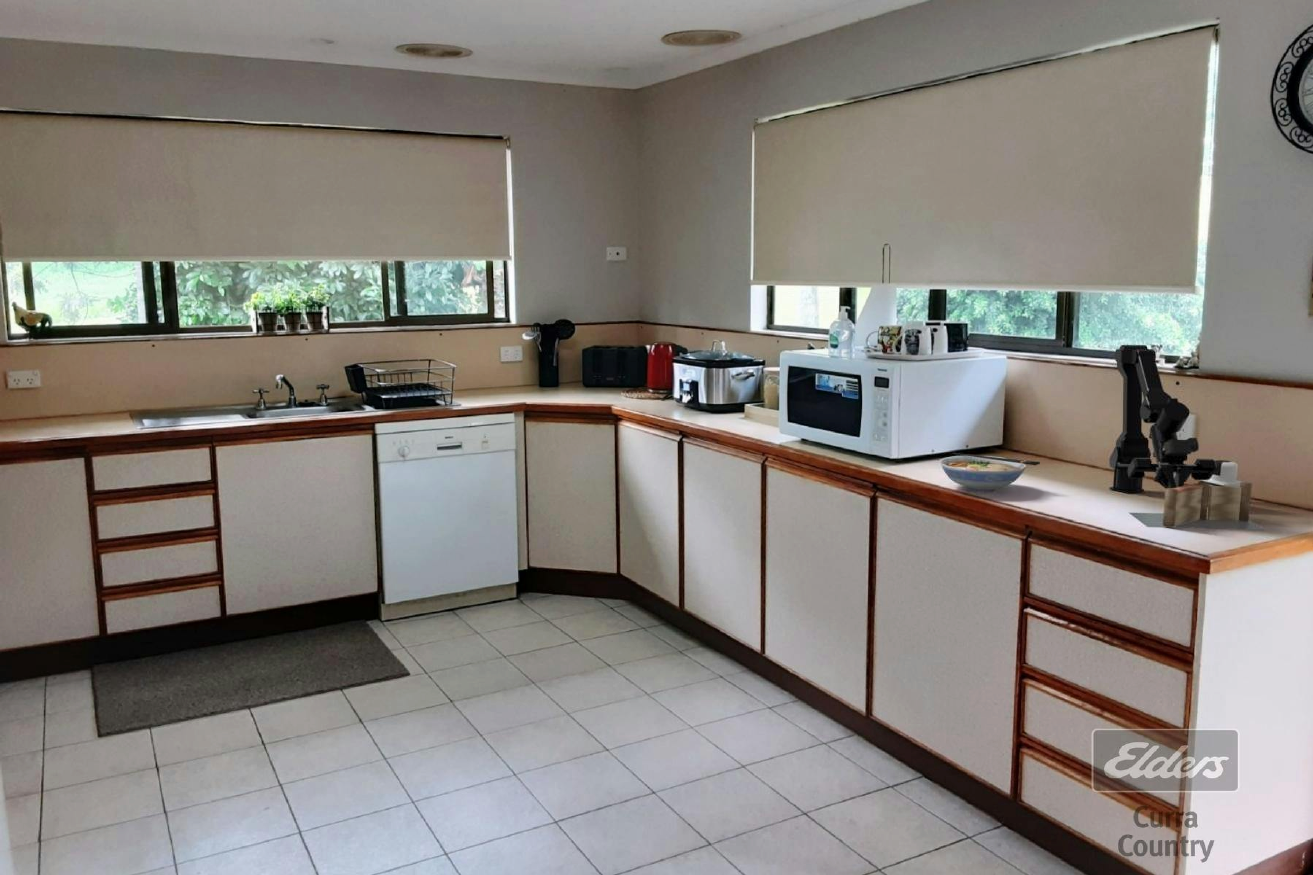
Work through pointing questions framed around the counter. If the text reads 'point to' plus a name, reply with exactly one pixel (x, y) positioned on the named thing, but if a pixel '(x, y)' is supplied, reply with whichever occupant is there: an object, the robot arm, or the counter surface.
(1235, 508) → the fence fixed
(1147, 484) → the counter surface
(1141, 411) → the robot arm
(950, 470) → the ramen bowl
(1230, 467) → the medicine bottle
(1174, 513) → the fence gate
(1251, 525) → the card
